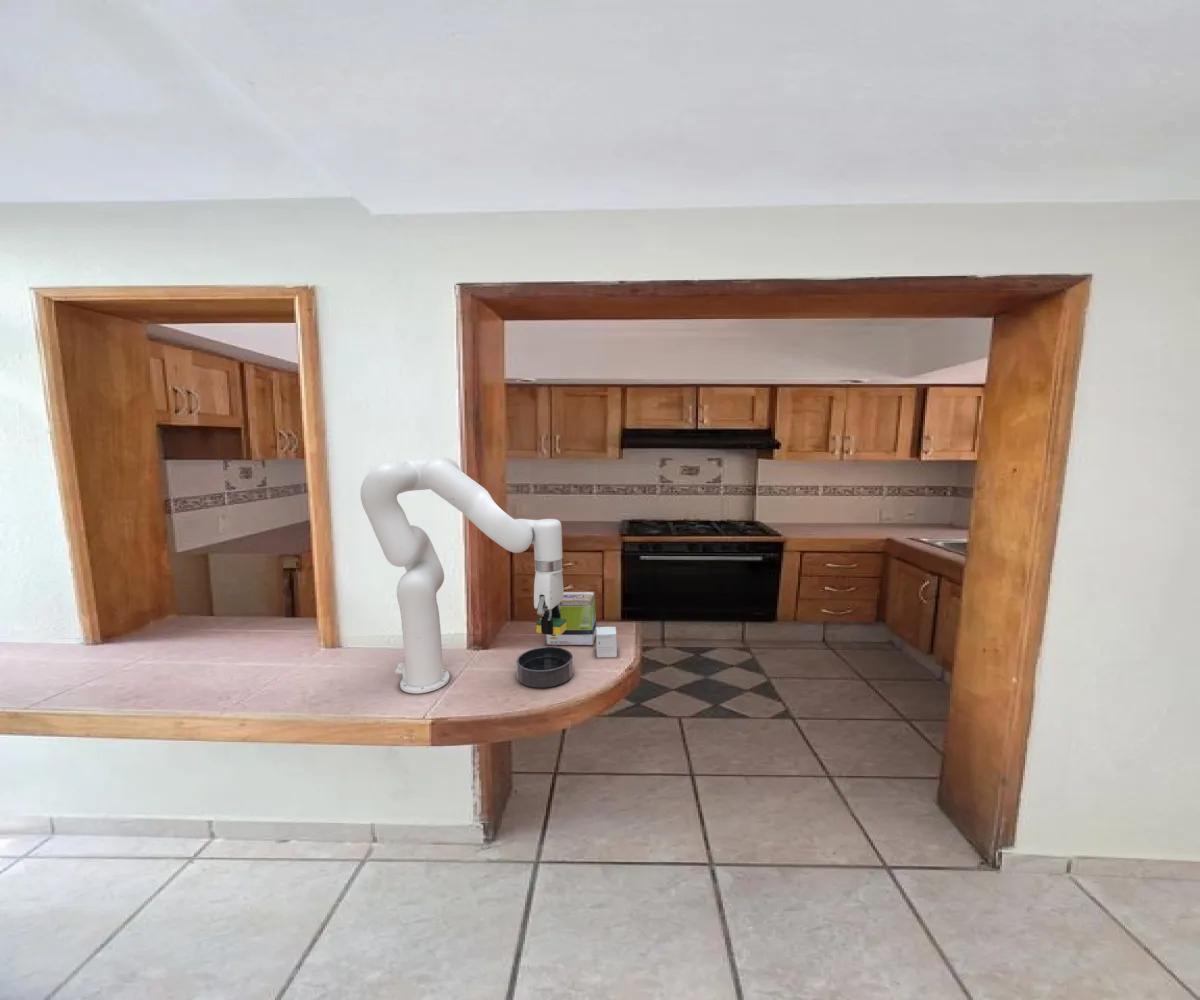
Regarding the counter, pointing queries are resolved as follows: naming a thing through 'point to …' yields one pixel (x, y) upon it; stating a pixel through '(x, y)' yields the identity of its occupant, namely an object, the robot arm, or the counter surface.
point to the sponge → (554, 626)
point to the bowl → (544, 667)
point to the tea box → (576, 620)
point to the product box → (606, 642)
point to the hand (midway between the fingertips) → (551, 629)
